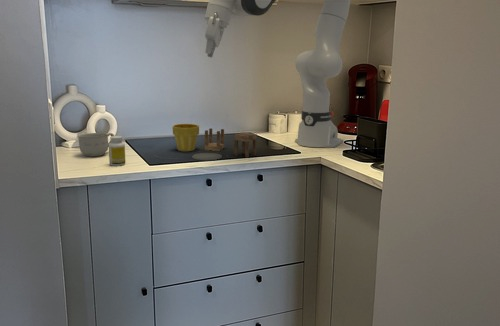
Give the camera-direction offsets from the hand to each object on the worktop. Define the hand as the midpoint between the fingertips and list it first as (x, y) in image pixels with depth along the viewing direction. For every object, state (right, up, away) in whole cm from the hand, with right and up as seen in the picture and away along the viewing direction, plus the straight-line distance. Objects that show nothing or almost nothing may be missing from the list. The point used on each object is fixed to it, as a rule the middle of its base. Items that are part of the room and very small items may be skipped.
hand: (208, 55), depth 179 cm
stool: (+13, -35, +13) cm, 40 cm away
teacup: (-43, -35, +11) cm, 56 cm away
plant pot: (-11, -33, +21) cm, 41 cm away
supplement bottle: (-31, -39, -4) cm, 50 cm away
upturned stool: (+1, -33, +23) cm, 40 cm away
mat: (-1, -36, +9) cm, 37 cm away
